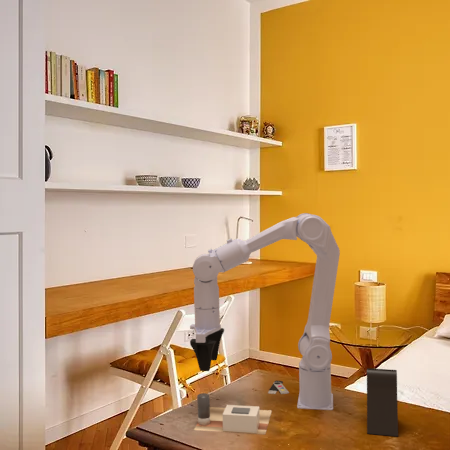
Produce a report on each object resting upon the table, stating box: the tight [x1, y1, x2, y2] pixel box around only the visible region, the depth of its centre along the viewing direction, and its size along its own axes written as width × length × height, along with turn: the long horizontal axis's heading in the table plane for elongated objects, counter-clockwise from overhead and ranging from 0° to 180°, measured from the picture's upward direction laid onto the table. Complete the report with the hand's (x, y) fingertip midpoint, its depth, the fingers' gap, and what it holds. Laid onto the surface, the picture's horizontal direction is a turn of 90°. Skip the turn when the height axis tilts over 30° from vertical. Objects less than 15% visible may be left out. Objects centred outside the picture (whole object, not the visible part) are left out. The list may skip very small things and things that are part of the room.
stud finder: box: [222, 404, 261, 434], centre depth 112 cm, size 5×7×4 cm
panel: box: [193, 406, 273, 435], centre depth 115 cm, size 12×15×1 cm
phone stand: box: [366, 367, 399, 437], centre depth 111 cm, size 9×6×12 cm, turn 164°
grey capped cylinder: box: [196, 392, 211, 426], centre depth 114 cm, size 3×3×6 cm
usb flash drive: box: [267, 380, 290, 395], centre depth 133 cm, size 9×5×1 cm, turn 162°
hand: (208, 365), depth 123 cm, fingers open, 7 cm apart
